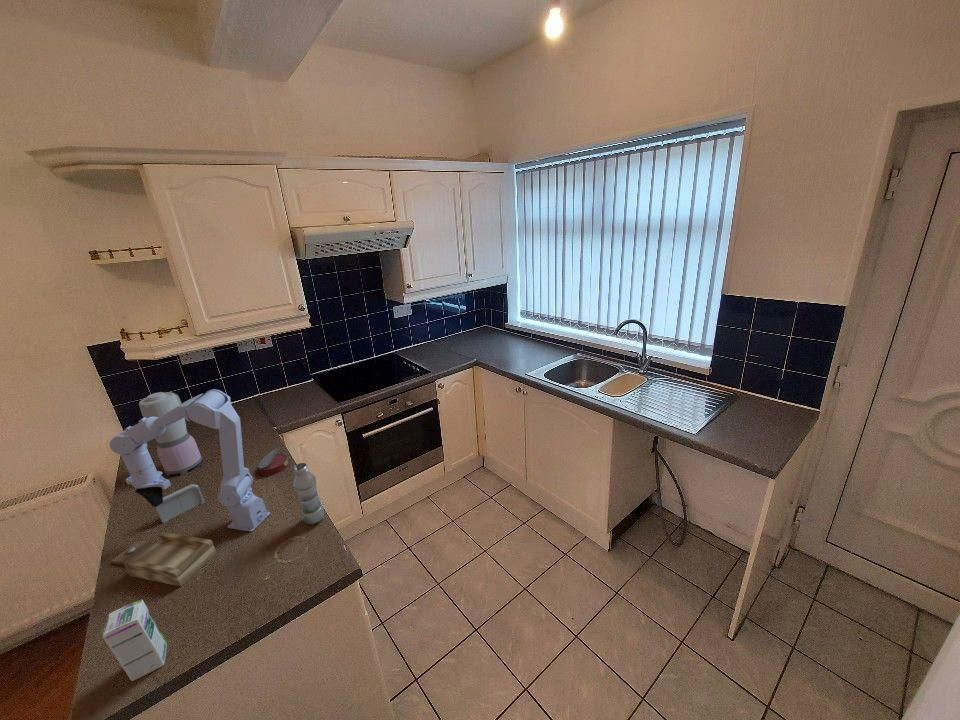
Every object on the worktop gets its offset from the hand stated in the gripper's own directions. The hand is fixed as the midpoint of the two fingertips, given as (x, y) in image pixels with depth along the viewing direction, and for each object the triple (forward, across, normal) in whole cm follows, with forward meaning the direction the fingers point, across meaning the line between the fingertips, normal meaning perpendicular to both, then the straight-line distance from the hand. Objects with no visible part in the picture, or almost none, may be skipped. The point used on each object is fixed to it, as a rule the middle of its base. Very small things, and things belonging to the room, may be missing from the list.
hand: (158, 504), depth 118 cm
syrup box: (+11, -34, +32) cm, 48 cm away
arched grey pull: (+11, +4, -8) cm, 14 cm away
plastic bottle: (+11, -44, -12) cm, 47 cm away
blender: (+11, +29, -30) cm, 43 cm away
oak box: (+10, -14, +10) cm, 20 cm away
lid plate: (+11, 0, +9) cm, 14 cm away
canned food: (+11, -10, -34) cm, 37 cm away
